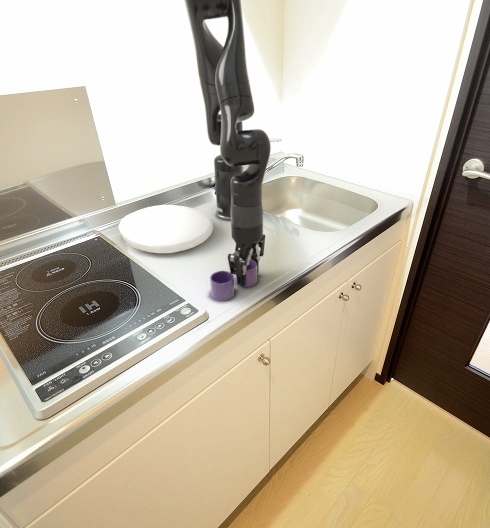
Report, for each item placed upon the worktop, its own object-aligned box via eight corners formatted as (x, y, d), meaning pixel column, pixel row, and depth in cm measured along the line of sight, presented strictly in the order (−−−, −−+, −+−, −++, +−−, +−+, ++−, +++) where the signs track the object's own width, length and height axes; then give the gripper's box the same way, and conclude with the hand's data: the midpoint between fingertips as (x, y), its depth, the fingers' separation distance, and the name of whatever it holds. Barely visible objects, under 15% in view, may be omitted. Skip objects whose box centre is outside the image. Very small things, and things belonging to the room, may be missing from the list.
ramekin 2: (244, 272, 98) (244, 256, 95) (261, 279, 95) (261, 263, 93) (231, 281, 94) (230, 265, 92) (247, 289, 92) (247, 273, 89)
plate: (228, 215, 116) (173, 253, 97) (227, 233, 120) (174, 272, 100) (160, 190, 125) (96, 219, 106) (161, 207, 129) (100, 239, 109)
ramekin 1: (222, 284, 93) (221, 268, 90) (238, 292, 90) (238, 276, 88) (206, 295, 89) (205, 278, 87) (223, 303, 87) (222, 286, 84)
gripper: (249, 205, 92) (250, 262, 101) (215, 227, 81) (219, 289, 90) (275, 212, 89) (274, 270, 98) (244, 235, 78) (245, 298, 87)
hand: (248, 278), depth 94 cm, fingers closed on ramekin 2, 5 cm apart
